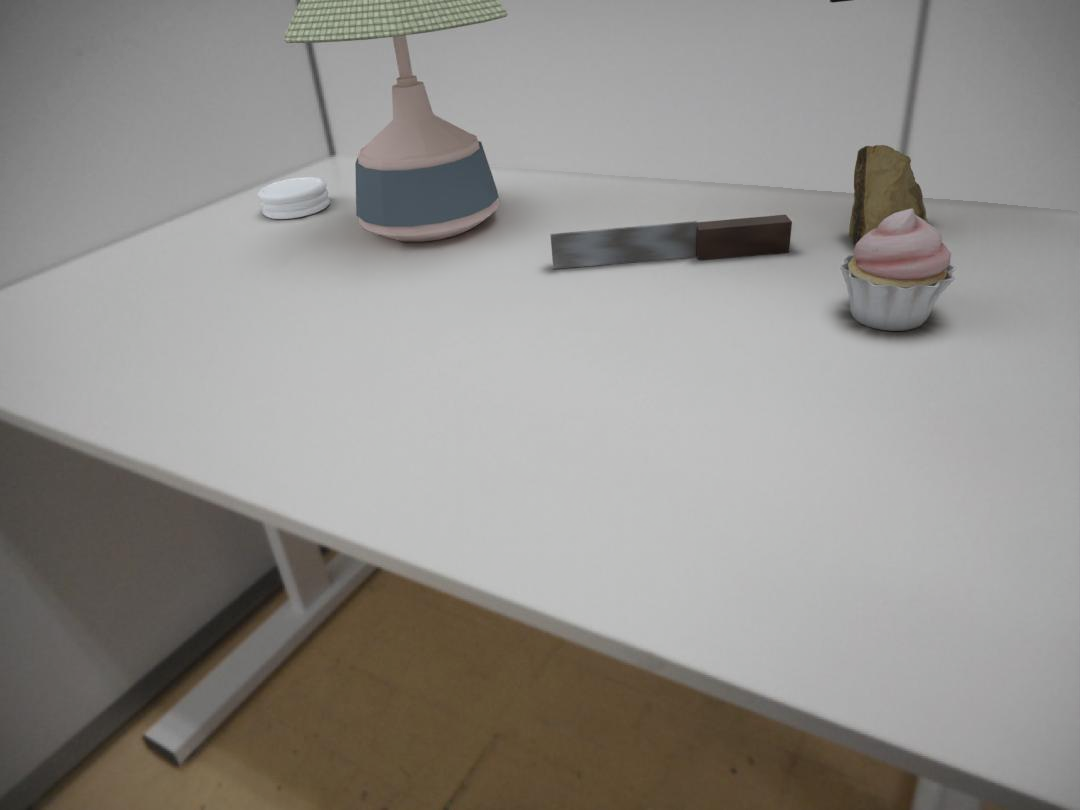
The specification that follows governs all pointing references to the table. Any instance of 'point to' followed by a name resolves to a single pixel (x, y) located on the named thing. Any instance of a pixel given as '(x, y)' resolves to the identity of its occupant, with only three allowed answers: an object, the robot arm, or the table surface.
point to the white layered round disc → (293, 198)
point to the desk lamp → (410, 123)
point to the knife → (673, 241)
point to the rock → (882, 189)
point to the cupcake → (897, 273)
